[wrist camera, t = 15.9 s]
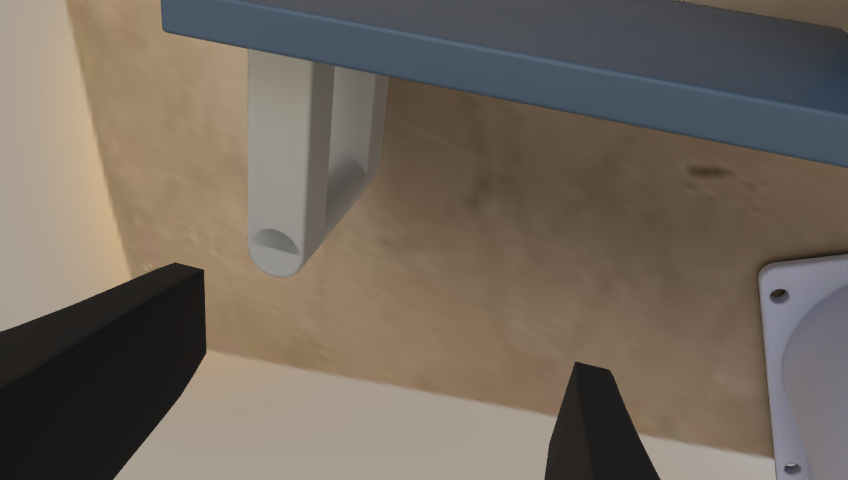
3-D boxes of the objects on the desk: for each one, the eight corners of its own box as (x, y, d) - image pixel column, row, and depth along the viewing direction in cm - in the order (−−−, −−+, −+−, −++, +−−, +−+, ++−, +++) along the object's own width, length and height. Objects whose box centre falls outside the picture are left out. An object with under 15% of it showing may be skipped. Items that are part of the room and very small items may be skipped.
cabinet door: (751, 245, 21) (839, 473, 13) (330, 153, 23) (176, 300, 15) (842, 28, 18) (1037, 150, 10) (343, -57, 20) (158, -15, 12)
